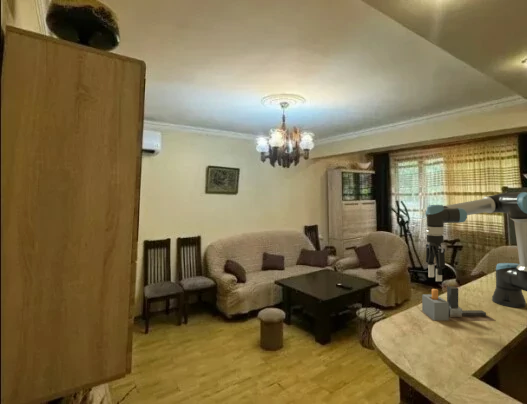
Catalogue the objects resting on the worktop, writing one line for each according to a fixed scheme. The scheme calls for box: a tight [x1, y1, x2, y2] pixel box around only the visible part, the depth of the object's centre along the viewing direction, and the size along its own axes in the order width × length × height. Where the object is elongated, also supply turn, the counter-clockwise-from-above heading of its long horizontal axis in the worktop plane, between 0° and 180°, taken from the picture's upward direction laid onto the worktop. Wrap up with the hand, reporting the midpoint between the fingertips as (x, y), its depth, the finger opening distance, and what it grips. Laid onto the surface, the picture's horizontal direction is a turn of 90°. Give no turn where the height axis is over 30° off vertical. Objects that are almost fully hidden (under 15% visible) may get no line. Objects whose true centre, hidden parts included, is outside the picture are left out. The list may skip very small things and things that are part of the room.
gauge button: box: [431, 288, 439, 300], centre depth 155 cm, size 3×3×8 cm
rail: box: [462, 309, 487, 317], centre depth 154 cm, size 22×3×2 cm, turn 88°
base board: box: [420, 310, 497, 322], centre depth 155 cm, size 31×13×1 cm, turn 88°
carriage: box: [446, 285, 463, 317], centre depth 154 cm, size 6×6×14 cm
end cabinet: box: [421, 293, 449, 320], centre depth 155 cm, size 7×12×9 cm, turn 178°
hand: (434, 278), depth 154 cm, fingers open, 6 cm apart
